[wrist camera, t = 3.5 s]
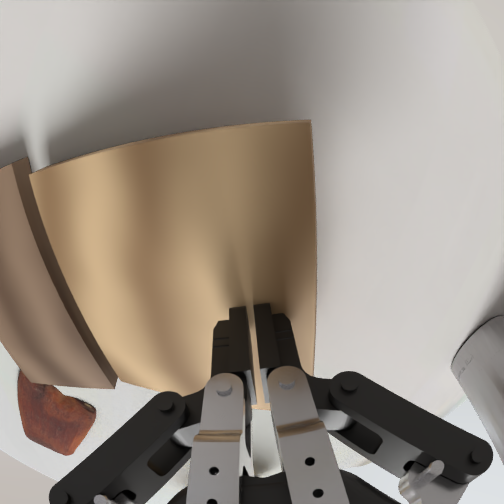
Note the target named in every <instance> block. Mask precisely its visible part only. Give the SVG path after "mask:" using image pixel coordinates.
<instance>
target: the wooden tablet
mask: <svg viewBox="0 0 504 504" xmlns="http://www.w3.org/2000/svg"><path fill="white" fill-rule="evenodd" d="M18 404H19V410H20V416H21V420H22V425H23V429H24V432H25V435H26V436H27V437H28V438H29V439H30V440H32V441H34V442H36V443H38V444H40V445H42V446H44V447H46V448H49V449H51V450H53V451H55V452H57V453H60V454H63V455H65V456H68V455H71V454H73V453H74V451H75V450H76V448H77V447H78V445H79V444H80V443H81V442H82V440H83V439H84V438H85V436H86V435H87V433H88V431H89V430H90V428H91V427H92V425H93V423H94V421H95V419H96V410H95V408H94V407H93V406H91V405H89V404H87V403H85V402H83V401H80V400H78V399H76V398H73V397H70V396H65V395H63V394H62V393H61V392H60V391H59V390H58V389H57V388H56V387H54V386H53V385H48V384H39V383H32V382H30V381H29V379H28V378H27V377H26V376H25V374H24V373H23V372H22V370H21V371H20V373H19V378H18Z"/></svg>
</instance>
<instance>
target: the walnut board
mask: <svg viewBox="0 0 504 504" xmlns="http://www.w3.org/2000/svg"><path fill="white" fill-rule="evenodd" d="M29 174H32V172H31V168H30V164H29V159H28V157H26V158H23V159H21V160H18V161H16V162H14V163H11V164H9V165H7V166H5V167H3V168H1V169H0V341H1V343H2V344H3V346H4V347H5V348H6V350H7V351H8V353H9V354H10V356H11V357H12V358H13V360H14V361H15V362H16V364H17V365H18V366H19V368H20V369H21V370H22V372H23V373H24V374H25V376H26V377H27V378H28V379H29V381H30V382H32V383H39V384H48V385H57V386H68V387H81V388H99V389H115V386H116V382H117V379H118V376H117V374H116V373H115V371H114V369H113V368H112V366H111V365H110V363H109V361H108V360H107V358H106V356H105V355H104V353H103V351H102V350H101V348H100V346H99V345H98V343H97V341H96V339H95V338H94V336H93V334H92V332H91V330H90V329H89V327H88V325H87V323H86V321H85V319H84V317H83V315H82V313H81V311H80V309H79V307H78V305H77V303H76V301H75V299H74V297H73V295H72V293H71V291H70V289H69V287H68V284H67V282H66V280H65V278H64V275H63V273H62V271H61V268H60V266H59V264H58V261H57V259H56V256H55V254H54V251H53V249H52V246H51V244H50V241H49V238H48V235H47V233H46V230H45V227H44V224H43V221H42V218H41V215H40V212H39V209H38V206H37V202H36V199H35V196H34V192H33V189H32V185H31V181H30V178H29Z"/></svg>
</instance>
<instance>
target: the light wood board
mask: <svg viewBox="0 0 504 504" xmlns="http://www.w3.org/2000/svg"><path fill="white" fill-rule="evenodd" d="M29 178H30V181H31V185H32V189H33V192H34V196H35V199H36V202H37V206H38V209H39V212H40V215H41V218H42V221H43V224H44V227H45V230H46V233H47V235H48V238H49V241H50V244H51V246H52V249H53V251H54V254H55V256H56V259H57V261H58V264H59V266H60V268H61V271H62V273H63V275H64V278H65V280H66V282H67V284H68V287H69V289H70V291H71V293H72V295H73V297H74V299H75V301H76V303H77V305H78V307H79V309H80V311H81V313H82V315H83V317H84V319H85V321H86V323H87V325H88V327H89V329H90V330H91V332H92V334H93V336H94V338H95V339H96V341H97V343H98V345H99V346H100V348H101V350H102V351H103V353H104V355H105V356H106V358H107V360H108V361H109V363H110V365H111V366H112V368H113V369H114V371H115V373H116V374H117V376H118V377H119V379H120V380H121V381H122V382H126V383H129V384H133V385H136V386H140V387H144V388H147V389H151V390H155V391H159V392H165V391H173V392H177V393H178V394H180V395H181V396H182V397H183V396H186V395H190V394H193V393H195V392H198V391H200V390H201V389H203V388H204V387H205V385H206V383H207V382H208V380H209V379H210V377H211V362H212V342H213V329H214V327H215V326H216V324H217V322H218V321H221V320H229V308H232V307H240V306H246V309H247V315H248V321H249V328H250V334H251V342H252V353H253V365H254V376H255V387H256V398H257V405H252V408H253V409H261V410H271V408H270V403H265V400H264V393H263V387H262V380H261V374H260V367H259V357H258V348H257V338H256V328H255V319H254V309H253V305H256V304H264V303H270V307H271V313H272V314H278V313H284V314H285V315H286V316H287V317H288V318H289V319H290V321H291V326H292V330H293V334H294V338H295V342H296V346H297V350H298V355H299V359H300V363H301V366H302V368H303V370H304V371H305V372H306V373H307V374H309V375H311V376H313V375H314V357H315V335H316V300H317V230H316V195H315V173H314V155H313V139H312V126H311V120H293V121H276V122H263V123H251V124H241V125H232V126H224V127H216V128H208V129H202V130H195V131H189V132H183V133H177V134H171V135H166V136H160V137H155V138H150V139H146V140H141V141H136V142H132V143H128V144H123V145H119V146H115V147H111V148H107V149H103V150H100V151H96V152H92V153H89V154H85V155H82V156H78V157H75V158H72V159H68V160H65V161H62V162H59V163H56V164H53V165H50V166H47V167H45V168H42V169H40V170H38V171H36V172H34V173H32V174H29Z"/></svg>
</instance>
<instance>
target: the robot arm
mask: <svg viewBox="0 0 504 504" xmlns="http://www.w3.org/2000/svg"><path fill="white" fill-rule="evenodd" d="M253 309H254V319H255V328H256V338H257V348H258V357H259V367H260V374H261V380H262V387H263V393H264V400H265V403H270V408H271V416H272V422H273V427H274V433H275V438H276V443H277V448H278V453H279V458H280V464H281V470H282V472H281V473H278V474H275V475H272V476H269V477H266V478H260V477H254V468H253V458H252V405H257V398H256V387H255V376H254V365H253V353H252V342H251V334H250V328H249V321H248V315H247V309H246V306H240V307H232V308H229V320H221V321H218V322H217V324H216V326H215V327H214V329H213V342H212V362H211V377H210V379H209V380H208V382H207V383H206V385H205V387H204V388H203V389H201V390H200V391H198V392H195V393H193V394H190V395H186V396H183V397H182V396H181V395H180V394H178V393H177V392H173V391H165V392H161V393H159V394H157V395H156V396H154V397H153V398H152V399H151V400H150V401H149V402H148V403H147V404H146V405H145V406H144V407H142V408H141V409H140V410H139V411H138V412H137V413H136V414H135V415H134V416H133V417H132V418H131V419H129V420H128V421H127V422H126V423H125V424H124V425H123V426H122V427H121V428H120V429H118V430H117V431H116V432H115V433H114V434H113V435H112V436H111V437H110V438H108V439H107V440H106V441H105V442H104V443H103V444H102V445H101V446H99V447H98V448H97V449H96V450H95V451H94V452H93V453H91V454H90V455H89V456H88V457H87V458H86V459H85V460H83V461H82V462H81V463H80V464H79V465H78V466H76V467H75V468H74V469H73V470H72V471H71V472H69V473H68V474H67V475H66V476H65V477H64V478H62V479H61V480H60V481H59V482H58V483H57V484H55V485H54V486H53V487H52V489H51V490H50V493H49V501H50V504H145V503H146V502H147V501H148V500H149V499H150V498H151V497H152V496H153V495H154V494H156V493H157V492H158V491H159V490H160V489H161V488H162V487H163V486H164V485H165V484H166V483H167V482H168V481H169V480H170V479H171V478H172V477H173V476H174V475H175V474H176V472H177V471H178V470H179V469H180V468H181V467H182V466H183V465H184V464H185V463H186V462H187V461H188V460H189V459H190V458H191V461H190V470H189V479H188V486H187V487H185V488H184V489H182V490H181V491H180V492H178V493H177V494H176V495H175V496H174V497H173V498H172V499H171V500H170V501H169V502H168V503H167V504H401V503H399V502H397V501H396V500H394V499H392V498H390V497H389V496H387V495H386V494H384V493H382V492H381V491H379V490H378V489H376V488H375V487H373V486H372V485H370V484H369V483H367V482H365V481H364V480H362V479H361V478H359V477H358V476H356V475H354V474H352V473H350V472H347V471H344V470H340V469H339V468H338V464H337V461H336V458H335V455H334V451H333V448H332V445H331V442H330V439H329V435H328V433H329V434H331V435H332V436H334V437H335V438H337V439H338V440H339V441H341V442H342V443H344V444H345V445H347V446H348V447H350V448H351V449H353V450H354V451H356V452H357V453H359V454H361V455H362V456H364V457H365V458H367V459H368V460H370V461H372V462H373V463H375V464H376V465H378V466H380V467H381V468H383V469H385V470H386V471H388V472H390V473H391V474H393V475H395V476H396V477H398V478H400V481H399V486H398V487H399V492H400V494H401V495H402V496H403V497H404V498H405V499H406V500H407V501H408V502H409V504H457V503H458V502H459V500H460V498H461V496H462V495H463V493H464V491H465V490H466V488H467V486H468V484H469V483H470V482H471V481H472V480H474V479H475V478H477V477H478V476H480V475H481V474H482V473H484V472H485V471H486V470H487V469H488V468H489V467H490V465H491V463H492V460H493V451H492V448H491V446H490V445H489V443H488V442H486V441H485V440H483V439H481V438H479V437H477V436H475V435H473V434H470V433H468V432H466V431H464V430H462V429H460V428H458V427H456V426H454V425H452V424H451V423H448V422H447V421H445V420H443V419H441V418H439V417H437V416H435V415H433V414H431V413H429V412H428V411H426V410H424V409H422V408H420V407H418V406H416V405H414V404H413V403H411V402H409V401H407V400H405V399H403V398H402V397H400V396H398V395H396V394H394V393H393V392H391V391H389V390H387V389H386V388H384V387H382V386H380V385H379V384H377V383H375V382H373V381H372V380H370V379H368V378H366V377H365V376H363V375H361V374H359V373H357V372H353V371H345V372H341V373H339V374H337V375H336V376H334V377H333V379H322V378H316V377H313V376H311V375H309V374H307V373H306V372H305V371H304V370H303V368H302V366H301V363H300V359H299V355H298V350H297V346H296V342H295V338H294V334H293V330H292V326H291V321H290V319H289V318H288V317H287V316H286V315H285V314H284V313H278V314H272V313H271V307H270V303H264V304H256V305H253ZM451 369H452V372H453V374H454V376H455V377H456V379H457V380H458V382H459V384H460V385H461V387H462V388H463V390H464V392H465V393H466V395H467V397H468V399H469V400H470V402H471V404H472V405H473V407H474V409H475V411H476V412H477V414H478V416H479V418H480V420H481V421H482V423H483V425H484V427H485V429H486V431H487V432H488V434H489V436H490V438H491V440H492V442H493V444H494V446H495V448H496V450H497V452H498V454H499V456H500V458H501V460H502V462H503V464H504V317H503V316H498V317H495V318H493V319H491V320H490V321H488V322H487V323H485V324H484V325H483V326H481V327H480V328H479V329H478V330H477V331H476V332H475V333H474V334H473V335H472V336H471V337H470V338H469V339H468V340H467V341H466V343H465V344H464V345H463V346H462V348H461V349H460V350H459V352H458V353H457V355H456V357H455V358H454V361H453V363H452V367H451Z"/></svg>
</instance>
